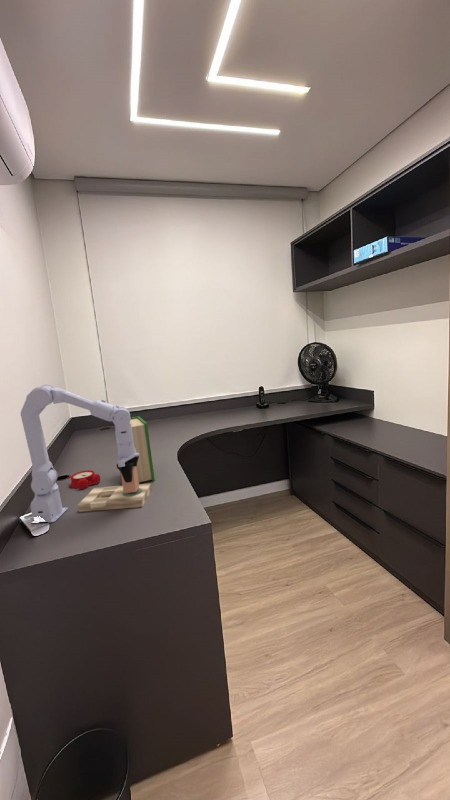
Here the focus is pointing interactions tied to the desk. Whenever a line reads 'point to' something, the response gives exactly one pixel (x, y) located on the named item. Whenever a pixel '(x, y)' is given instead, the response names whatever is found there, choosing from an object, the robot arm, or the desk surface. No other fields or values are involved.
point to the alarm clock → (84, 479)
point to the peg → (132, 485)
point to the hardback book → (142, 449)
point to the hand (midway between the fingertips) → (130, 479)
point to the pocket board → (114, 498)
